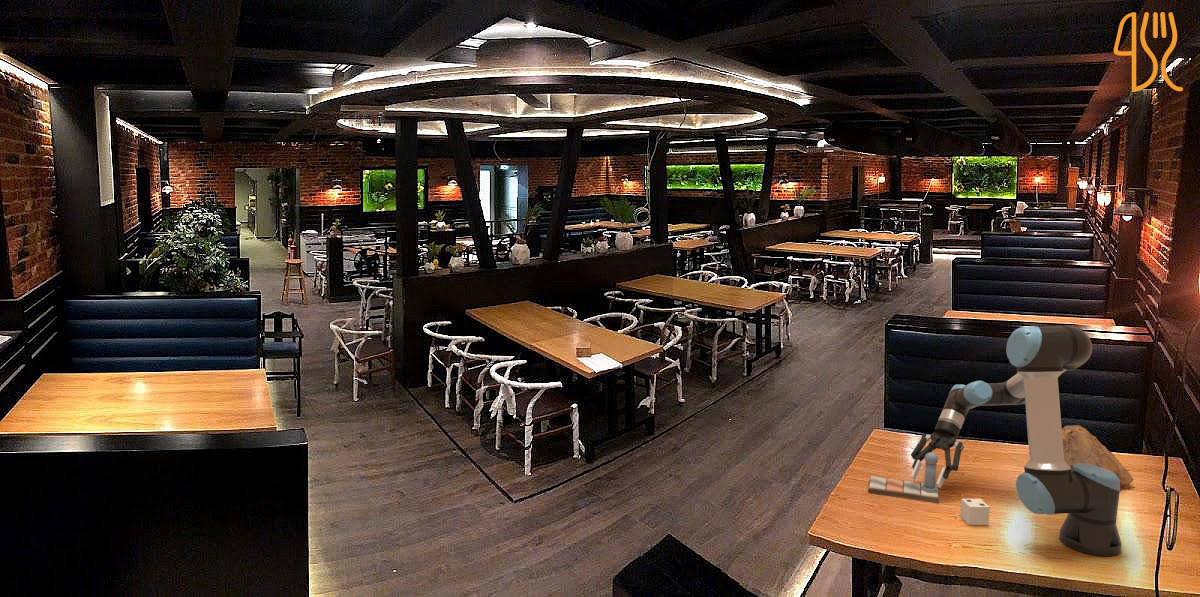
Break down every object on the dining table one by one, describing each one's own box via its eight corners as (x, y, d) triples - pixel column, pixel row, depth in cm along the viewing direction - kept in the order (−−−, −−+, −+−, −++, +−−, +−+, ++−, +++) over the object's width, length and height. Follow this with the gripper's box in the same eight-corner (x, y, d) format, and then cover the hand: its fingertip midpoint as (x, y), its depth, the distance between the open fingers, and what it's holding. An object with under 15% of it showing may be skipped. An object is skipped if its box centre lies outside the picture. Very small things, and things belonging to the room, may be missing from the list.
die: (988, 525, 226) (989, 506, 225) (968, 525, 226) (969, 506, 225) (979, 516, 232) (980, 498, 231) (960, 516, 232) (961, 498, 231)
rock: (1033, 443, 276) (1057, 412, 271) (1069, 455, 281) (1093, 425, 276) (1088, 495, 250) (1116, 462, 245) (1126, 507, 255) (1155, 475, 249)
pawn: (937, 493, 245) (939, 456, 243) (921, 491, 247) (924, 454, 245) (937, 488, 250) (939, 451, 248) (921, 486, 251) (923, 449, 249)
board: (938, 502, 242) (938, 498, 242) (868, 492, 251) (868, 488, 251) (937, 489, 253) (937, 484, 253) (870, 479, 262) (870, 475, 261)
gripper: (983, 438, 248) (960, 496, 240) (922, 423, 263) (899, 478, 255) (977, 426, 244) (954, 485, 236) (916, 412, 259) (892, 467, 251)
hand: (925, 481), depth 246 cm, fingers open, 8 cm apart
